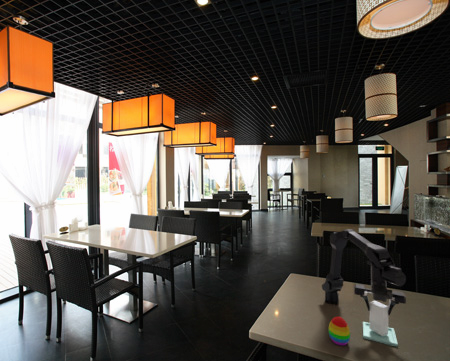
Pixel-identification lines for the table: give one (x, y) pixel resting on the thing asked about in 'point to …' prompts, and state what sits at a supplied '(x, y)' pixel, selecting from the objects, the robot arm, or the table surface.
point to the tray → (374, 336)
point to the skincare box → (378, 318)
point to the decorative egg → (339, 331)
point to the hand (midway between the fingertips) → (378, 312)
